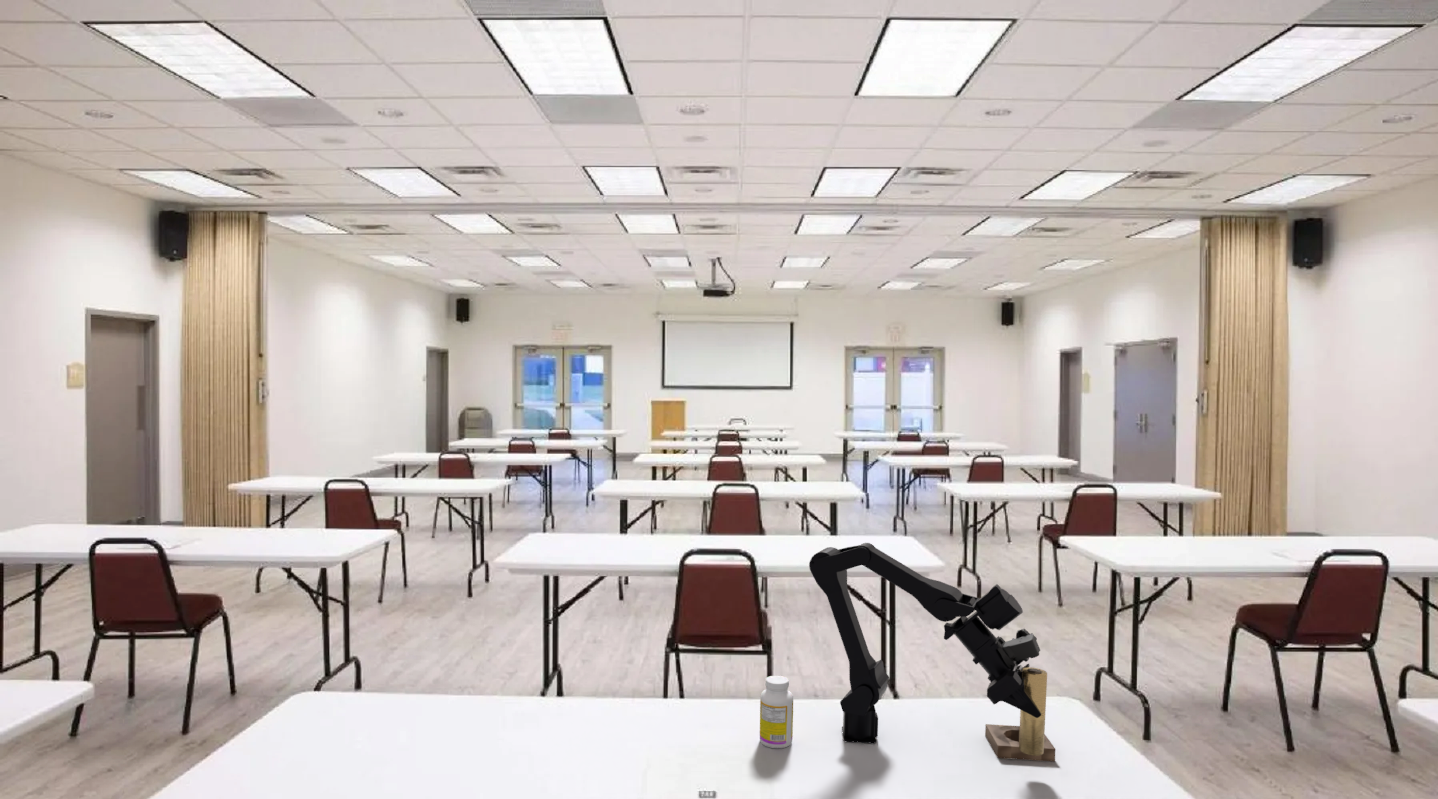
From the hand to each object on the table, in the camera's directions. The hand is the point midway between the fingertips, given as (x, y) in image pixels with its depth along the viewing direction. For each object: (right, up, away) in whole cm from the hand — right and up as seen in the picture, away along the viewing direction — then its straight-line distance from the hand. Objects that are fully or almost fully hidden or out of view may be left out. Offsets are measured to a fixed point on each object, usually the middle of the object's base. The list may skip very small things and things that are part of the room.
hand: (1040, 711), depth 155 cm
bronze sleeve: (-1, -8, +1) cm, 8 cm away
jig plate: (0, -12, +12) cm, 17 cm away
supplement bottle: (-49, -11, +12) cm, 51 cm away
